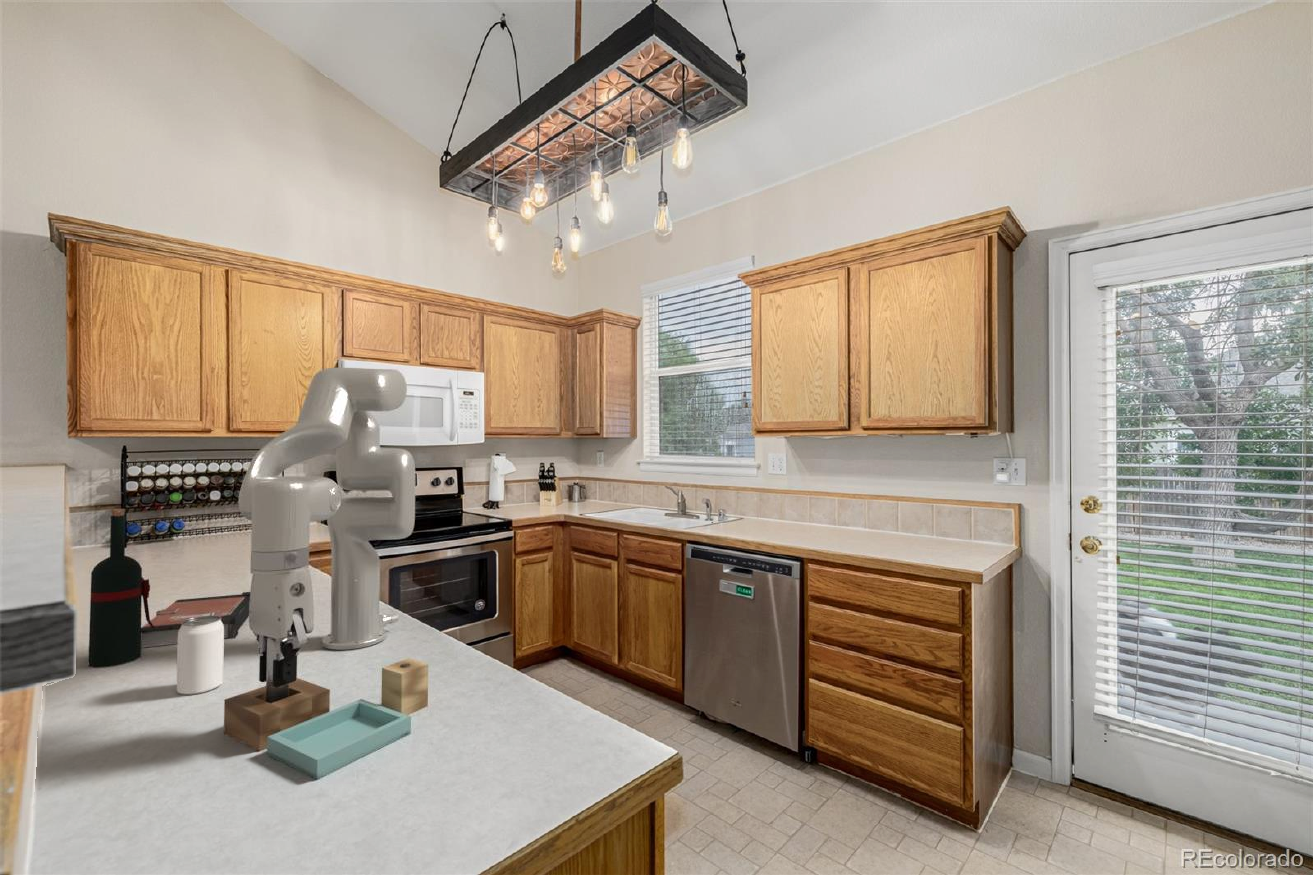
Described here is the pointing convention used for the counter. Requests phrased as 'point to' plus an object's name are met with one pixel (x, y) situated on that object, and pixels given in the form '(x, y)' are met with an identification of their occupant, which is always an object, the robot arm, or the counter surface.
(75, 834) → the counter surface
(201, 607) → the book
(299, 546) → the robot arm
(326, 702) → the bore block
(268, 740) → the tray
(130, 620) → the wine bottle
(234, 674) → the counter surface
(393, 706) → the oak block
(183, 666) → the can
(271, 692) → the cylinder
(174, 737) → the counter surface
